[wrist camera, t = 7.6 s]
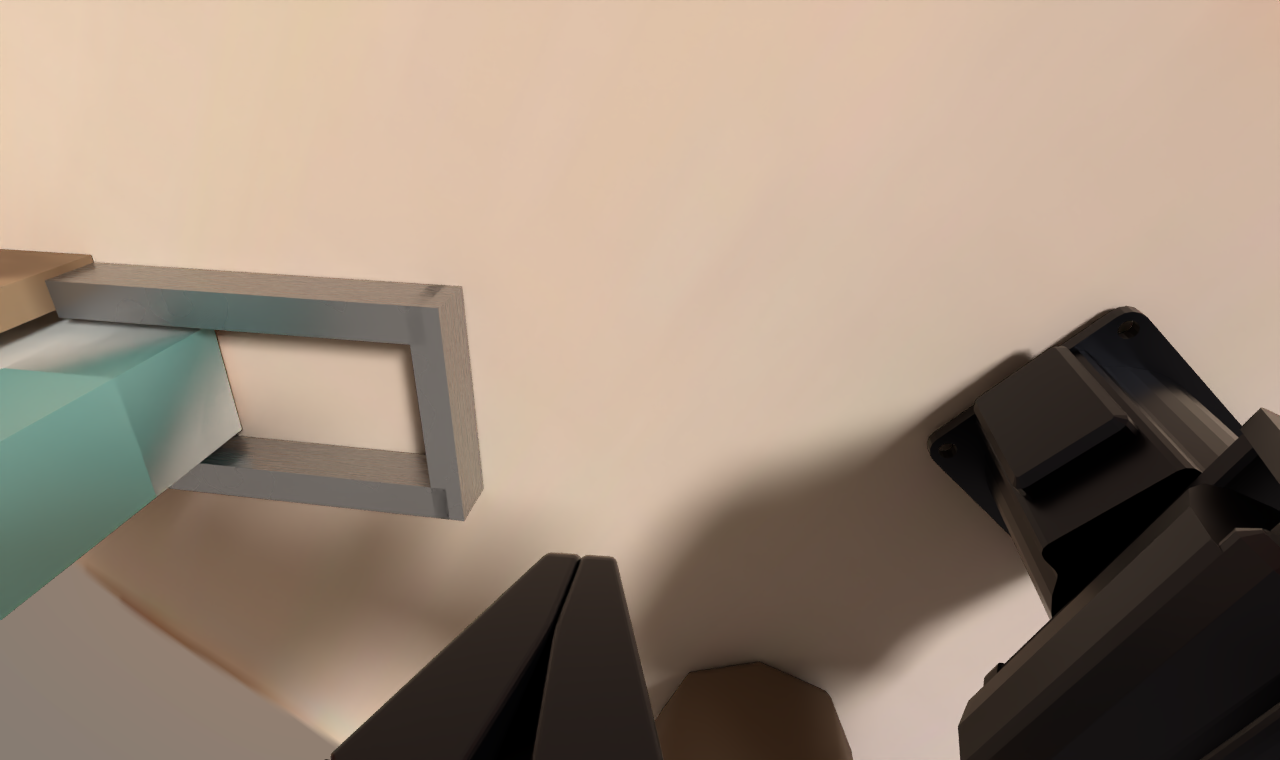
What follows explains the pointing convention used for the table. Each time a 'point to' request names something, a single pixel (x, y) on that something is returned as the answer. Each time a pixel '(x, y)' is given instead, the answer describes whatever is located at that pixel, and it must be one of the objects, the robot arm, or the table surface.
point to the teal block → (96, 433)
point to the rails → (321, 311)
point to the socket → (30, 283)
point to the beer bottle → (750, 718)
